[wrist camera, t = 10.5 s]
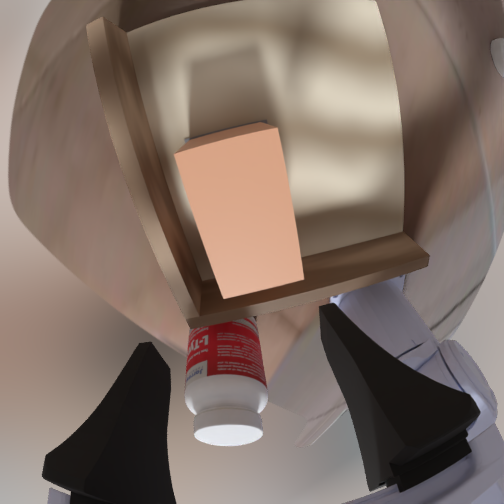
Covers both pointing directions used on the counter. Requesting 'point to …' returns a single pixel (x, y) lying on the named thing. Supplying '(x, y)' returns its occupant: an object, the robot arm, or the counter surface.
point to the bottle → (498, 54)
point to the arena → (272, 113)
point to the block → (243, 207)
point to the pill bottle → (226, 382)
